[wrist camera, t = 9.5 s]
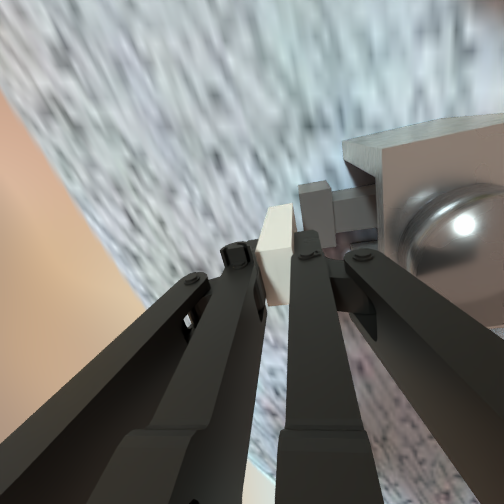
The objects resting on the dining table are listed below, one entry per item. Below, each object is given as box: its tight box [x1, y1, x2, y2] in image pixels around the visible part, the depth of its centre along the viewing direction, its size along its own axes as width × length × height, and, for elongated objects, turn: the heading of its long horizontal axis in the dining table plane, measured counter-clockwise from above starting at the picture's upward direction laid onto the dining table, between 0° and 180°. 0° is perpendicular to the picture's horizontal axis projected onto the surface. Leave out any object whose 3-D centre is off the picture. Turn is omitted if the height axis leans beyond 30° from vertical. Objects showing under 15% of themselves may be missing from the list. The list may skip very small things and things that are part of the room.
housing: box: [342, 113, 504, 329], centre depth 14 cm, size 9×6×11 cm
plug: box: [298, 180, 377, 248], centre depth 15 cm, size 4×17×7 cm, turn 102°
